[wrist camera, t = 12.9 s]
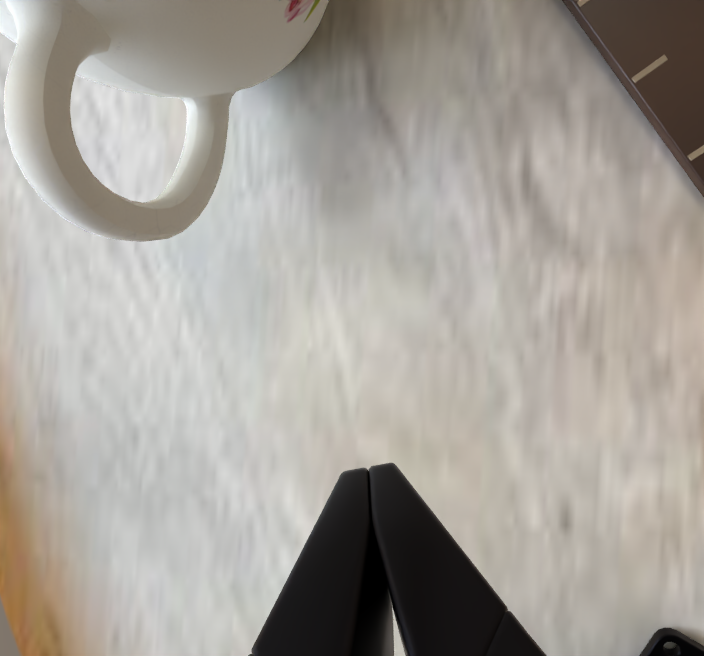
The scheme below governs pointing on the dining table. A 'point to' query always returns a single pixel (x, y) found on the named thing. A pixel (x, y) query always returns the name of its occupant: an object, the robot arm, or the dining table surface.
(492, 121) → the dining table surface
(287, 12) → the pitcher
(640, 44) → the ruler
